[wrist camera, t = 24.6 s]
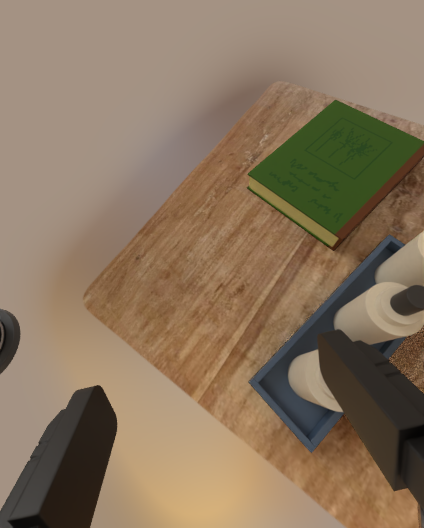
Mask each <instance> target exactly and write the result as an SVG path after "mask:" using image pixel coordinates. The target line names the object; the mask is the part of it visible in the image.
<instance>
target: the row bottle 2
mask: <svg viewBox="0 0 424 528" xmlns="http://www.w3.org/2000/svg"><path fill="white" fill-rule="evenodd" d="M333 325H334V329H335V330H337V329H340V330H342V331H343V332H344V333H345V334H346V335H347V336H348V337H349V338H350V339H351V340H352V341H353V342H354V341H358V340H361V341H363V342H365V343H367V344H369V345H371V344H375V343H380V342H384V341H388V340H393V339H397V338H401V337H406V336H410V335H413V334H415V333H417V332H418V331H419V330H420V329H421V328H422V327H423V325H424V286H421V285H413V286H410V287H406V286H404V285H401V284H399V283H394V282H382V283H379V284H376V285H375V286H373V287H372V288H370V289H369V290H367V291H366V292H364V293H363V294H361V295H360V296H358V297H357V298H355V299H354V300H352V301H351V302H349V303H348V304H346V305H345V306H343V307H342V308H340V309H339V310H338V311H337V312H336V313H335V316H334V319H333Z"/></svg>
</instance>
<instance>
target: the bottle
mask: <svg viewBox="0 0 424 528" xmlns="http://www.w3.org/2000/svg"><path fill="white" fill-rule="evenodd" d="M288 380H289V384H290V386H291V388H292V389H293V391H294V392H295V393H296V394H297V395H298V396H299V397H301V398H303V399H305V400H307V401H310V402H312V403H315V404H317V405H320V406H322V407H325V408H328V409H330V410H333V411H337V412H343V410H342V409H341V407H340V406H339V404H338V402H337V401H336V399H335V398H334V396H333V395H332V393H331V391H330V390H329V388H328V387H327V385H326V383H325V381H324V379H323V377H322V374H321V371H320V366H319V354H318V349H317V350H314V351H311V352H308V353H305V354H302V355H299V356H297V357H296V358H294V359H293V360H292V362H291V363H290V365H289V368H288Z"/></svg>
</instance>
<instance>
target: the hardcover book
mask: <svg viewBox="0 0 424 528" xmlns="http://www.w3.org/2000/svg"><path fill="white" fill-rule="evenodd" d="M423 157H424V141H422V140H420V139H418V138H416V137H414V136H412V135H409V134H407V133H405V132H403V131H401V130H399V129H397V128H395V127H392V126H390V125H388V124H386V123H384V122H382V121H380V120H378V119H375V118H373V117H371V116H369V115H367V114H365V113H363V112H361V111H358V110H356V109H354V108H352V107H350V106H348V105H346V104H344V103H341V102H339V101H337V100H335V101H333V102H332V103H331V104H330V105H329V106H327V107H326V108H325V109H324V110H323V111H322V112H320V113H319V114H318V115H317V116H316V117H314V118H313V119H312V120H311V121H310V122H308V123H307V124H306V125H305V126H304V127H303V128H301V129H300V130H299V131H298V132H297V133H295V134H294V135H293V136H292V137H291V138H289V139H288V140H287V141H286V142H285V143H284V144H282V145H281V146H280V147H279V148H278V149H276V150H275V151H274V152H273V153H272V154H270V155H269V156H268V157H267V158H266V159H265V160H263V161H262V162H261V163H260V164H259V165H257V166H256V167H255V168H254V169H253V170H251V171H250V172H249V173H248V175H249V176H250V179H249V186H248V187H247V189H249V190H250V191H252V192H253V193H254V194H256V195H257V196H258V197H260V198H261V199H263V200H264V201H265V202H267V203H268V204H269V205H271V206H272V207H274V208H275V209H276V210H278V211H279V212H281V213H282V214H283V215H285V216H286V217H287V218H289V219H290V220H292V221H293V222H294V223H296V224H297V225H298V226H300V227H301V228H303V229H304V230H305V231H307V232H308V233H310V234H311V235H312V236H314V237H315V238H316V239H318V240H319V241H321V242H322V243H323V244H325V245H326V246H327V247H329V248H330V249H332V250H333V251H334V250H335V249H336V248H337V247H338V246H339V245H340V244H341V243H342V242H343V241H344V240H345V239H346V238H347V237H348V236H349V235H350V233H351V232H352V231H353V230H354V229H355V228H356V227H357V226H358V225H359V224H360V223H361V222H362V221H363V220H364V219H365V218H366V217H367V216H368V215H369V214H370V213H371V212H372V211H373V210H374V209H375V208H376V207H377V205H378V204H379V203H380V202H381V201H382V200H383V199H384V198H385V197H386V196H387V195H388V194H389V193H390V192H391V191H392V190H393V189H394V188H395V187H396V186H397V185H398V184H399V183H400V182H401V181H402V180H403V178H404V177H405V176H406V175H407V174H408V173H409V172H410V171H411V170H412V169H413V168H414V167H415V166H416V165H417V164H418V163H419V162H420V161H421V159H422V158H423Z"/></svg>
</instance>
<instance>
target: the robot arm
mask: <svg viewBox="0 0 424 528" xmlns="http://www.w3.org/2000/svg"><path fill="white" fill-rule="evenodd" d="M5 340H6V329H5V326H4V324H3V322H2V321H1V320H0V354H1V352H2V350H3V347H4V344H5ZM317 342H318V354H319V366H320V371H321V374H322V377H323V379H324V381H325V383H326V385H327V387H328V388H329V390H330V391H331V393H332V395H333V396H334V398H335V399H336V401H337V402H338V404H339V406H340V407H341V409H342V410H343V412H344V413H345V415H346V417H347V418H348V420H349V421H350V423H351V424H352V426H353V428H354V429H355V431H356V432H357V434H358V435H359V437H360V439H361V440H362V442H363V443H364V445H365V446H366V448H367V449H368V451H369V453H370V454H371V456H372V457H373V459H374V460H375V462H376V464H377V465H378V467H379V468H380V470H381V471H382V473H383V475H384V476H385V478H386V479H387V481H388V482H389V484H390V486H391V487H392V489H393V490H394V491H397V490H401V489H406V488H408V489H409V490H410V492H411V493H412V495H413V496H414V497H415V499H416V500H417V502H418V520H419V528H424V394H423V393H422V392H421V391H420V390H419V389H418V388H417V387H416V386H415V385H414V384H413V383H412V382H411V381H410V380H409V379H408V378H407V377H406V376H405V375H404V374H401V373H400V371H399V370H398V369H397V368H396V367H395V366H394V365H393V364H392V363H390V362H389V360H388V359H387V358H386V357H385V356H384V355H383V354H382V353H380V352H379V351H378V350H377V349H376V348H374V347H372V346H370V345H369V344H367V343H365V342H363V341H361V340H358V341H354V342H353V341H352V340H351V339H350V338H349V337H348V336H347V335H346V334H345V333H344V332H343V331H342V330H340V329H337V330H332V331H328V332H324V333H320V334H318V336H317ZM116 432H117V418H116V414H115V412H114V410H113V408H112V406H111V404H110V402H109V400H108V398H107V396H106V394H105V393H104V390H103V389H102V387H101V386H99V385H97V386H93V387H89V388H84V389H80V390H77V391H76V392H75V393H74V394H73V396H72V397H71V399H70V401H69V403H68V405H67V407H66V409H64V410H61V411H60V412H59V414H58V415H57V416H56V417H55V418H54V419H53V421H51V423H50V424H49V425H48V426H47V428H46V430H45V432H44V434H43V435H42V437H41V439H40V441H39V445H38V446H36V448H35V450H34V451H33V453H32V455H31V457H30V458H31V459H30V461H28V462H27V464H26V466H25V468H24V470H23V471H22V473H21V475H20V477H19V478H18V480H17V482H16V484H15V486H14V488H13V489H12V491H11V493H10V495H9V497H8V498H7V500H6V502H5V504H4V505H3V507H2V509H1V511H0V528H90V526H91V522H92V518H93V515H94V511H95V508H96V504H97V501H98V497H99V493H100V490H101V486H102V483H103V479H104V476H105V472H106V468H107V465H108V461H109V458H110V454H111V450H112V447H113V443H114V440H115V436H116Z"/></svg>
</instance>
